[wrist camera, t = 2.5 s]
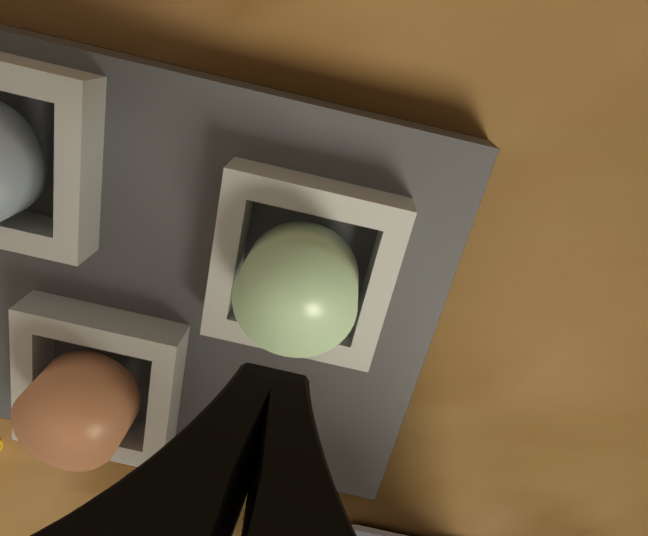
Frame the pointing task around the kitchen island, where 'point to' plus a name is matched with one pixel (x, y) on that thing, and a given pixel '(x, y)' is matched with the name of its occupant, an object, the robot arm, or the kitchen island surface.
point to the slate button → (19, 163)
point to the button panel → (222, 238)
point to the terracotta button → (76, 411)
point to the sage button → (297, 290)
